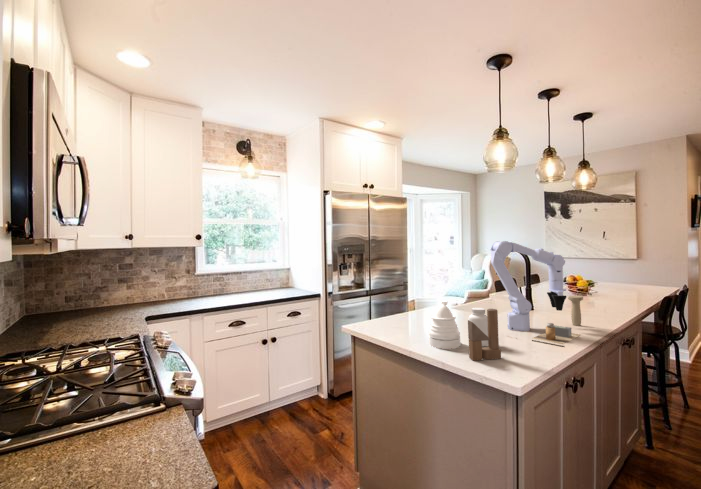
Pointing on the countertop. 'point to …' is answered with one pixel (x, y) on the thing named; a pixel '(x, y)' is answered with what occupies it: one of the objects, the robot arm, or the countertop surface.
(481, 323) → the pill bottle
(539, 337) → the panel
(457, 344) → the honey pot
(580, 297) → the handle
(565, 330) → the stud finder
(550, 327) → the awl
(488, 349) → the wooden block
